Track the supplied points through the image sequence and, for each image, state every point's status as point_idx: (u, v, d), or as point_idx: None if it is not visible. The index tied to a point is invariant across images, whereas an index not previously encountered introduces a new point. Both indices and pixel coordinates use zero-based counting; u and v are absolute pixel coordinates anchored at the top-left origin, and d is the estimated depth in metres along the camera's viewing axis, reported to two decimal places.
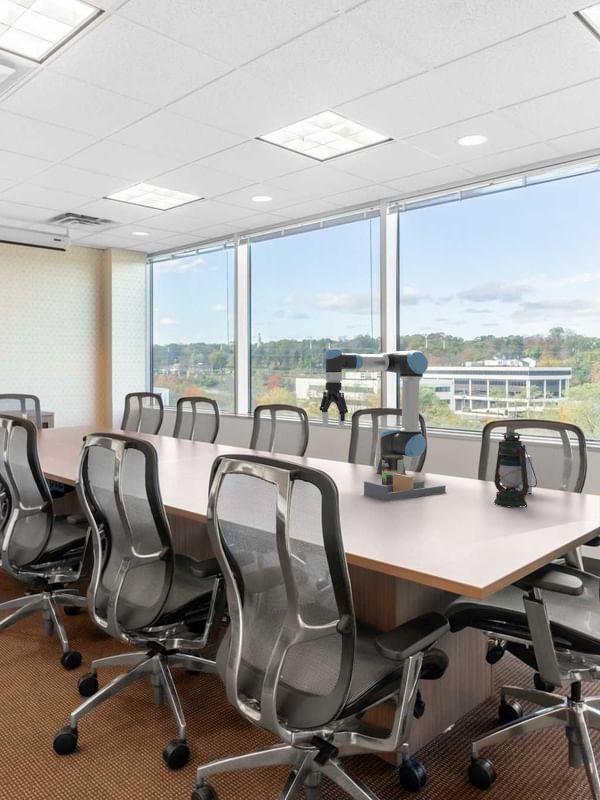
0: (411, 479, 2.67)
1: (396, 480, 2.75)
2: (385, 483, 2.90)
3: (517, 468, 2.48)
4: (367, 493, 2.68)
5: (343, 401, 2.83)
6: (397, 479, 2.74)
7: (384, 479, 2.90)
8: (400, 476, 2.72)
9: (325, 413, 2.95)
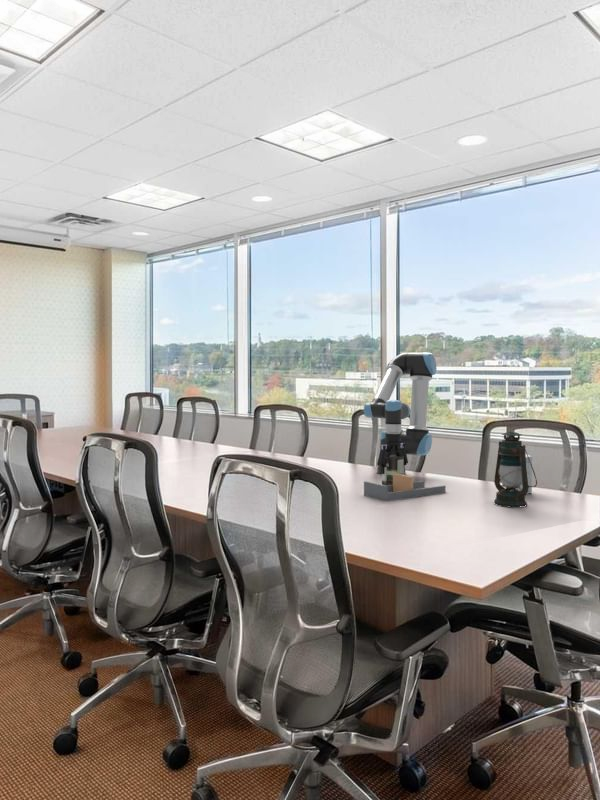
0: (411, 479, 2.67)
1: (396, 480, 2.75)
2: (385, 483, 2.90)
3: (517, 468, 2.48)
4: (367, 493, 2.68)
5: (381, 454, 2.88)
6: (397, 479, 2.74)
7: None
8: (400, 476, 2.72)
9: None
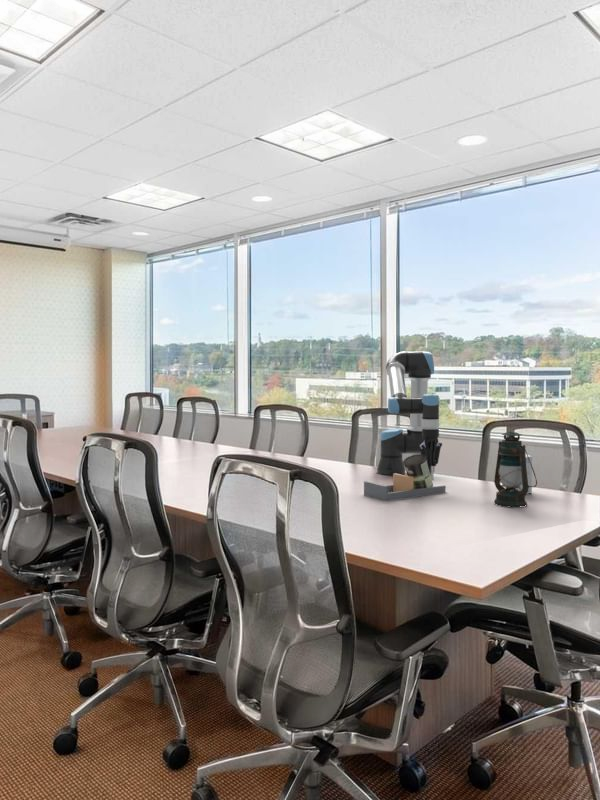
0: (411, 479, 2.67)
1: (396, 480, 2.75)
2: None
3: (517, 468, 2.48)
4: (367, 493, 2.68)
5: (423, 454, 2.78)
6: (397, 479, 2.74)
7: None
8: (400, 476, 2.72)
9: None
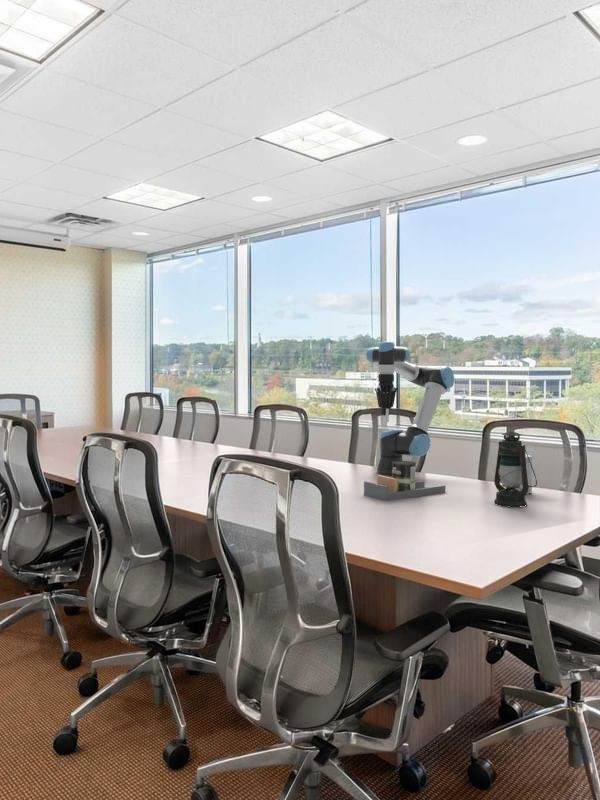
0: (395, 481, 2.62)
1: (380, 482, 2.70)
2: None
3: (517, 468, 2.48)
4: (367, 493, 2.68)
5: (378, 396, 2.99)
6: (381, 481, 2.69)
7: None
8: (384, 478, 2.67)
9: None
